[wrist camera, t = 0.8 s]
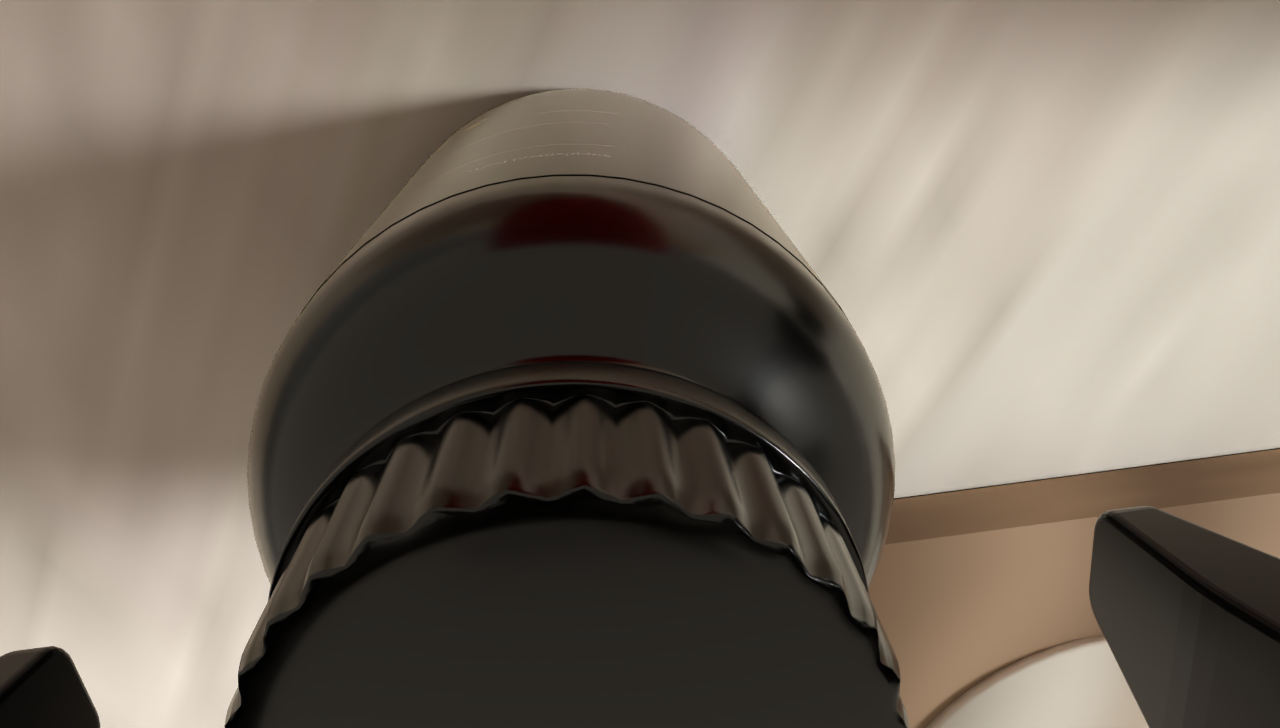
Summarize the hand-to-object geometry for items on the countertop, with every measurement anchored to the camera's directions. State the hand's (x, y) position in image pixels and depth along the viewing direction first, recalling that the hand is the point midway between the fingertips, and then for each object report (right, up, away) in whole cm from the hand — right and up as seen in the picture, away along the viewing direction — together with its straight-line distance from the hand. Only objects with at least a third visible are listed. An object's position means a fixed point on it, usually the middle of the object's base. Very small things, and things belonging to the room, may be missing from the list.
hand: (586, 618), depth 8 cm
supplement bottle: (-1, +4, +9) cm, 10 cm away
